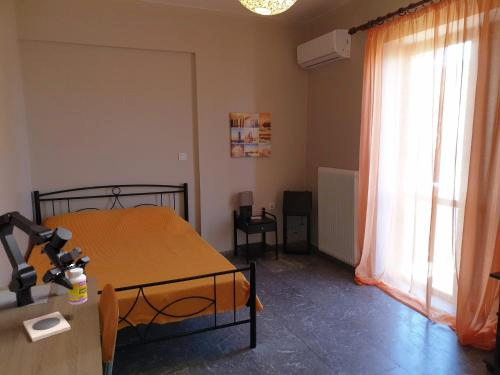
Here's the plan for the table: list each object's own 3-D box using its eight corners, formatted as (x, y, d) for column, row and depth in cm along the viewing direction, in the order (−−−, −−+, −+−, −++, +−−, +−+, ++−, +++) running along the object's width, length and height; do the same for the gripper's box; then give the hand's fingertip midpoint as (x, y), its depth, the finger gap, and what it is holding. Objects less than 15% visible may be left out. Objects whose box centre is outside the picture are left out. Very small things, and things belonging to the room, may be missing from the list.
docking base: (23, 324, 136) (23, 321, 136) (58, 314, 144) (58, 310, 143) (32, 341, 124) (32, 338, 124) (70, 329, 132) (70, 325, 132)
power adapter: (56, 293, 164) (53, 267, 162) (69, 290, 167) (67, 265, 165) (57, 295, 161) (54, 269, 160) (70, 292, 164) (68, 267, 163)
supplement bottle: (80, 306, 139) (77, 273, 137) (65, 304, 140) (62, 272, 138) (91, 298, 145) (89, 267, 143) (76, 297, 146) (74, 266, 145)
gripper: (44, 249, 132) (69, 282, 130) (85, 236, 149) (108, 265, 147) (31, 267, 136) (55, 300, 134) (72, 253, 153) (94, 281, 151)
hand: (79, 285), depth 141 cm, fingers closed on supplement bottle, 7 cm apart
